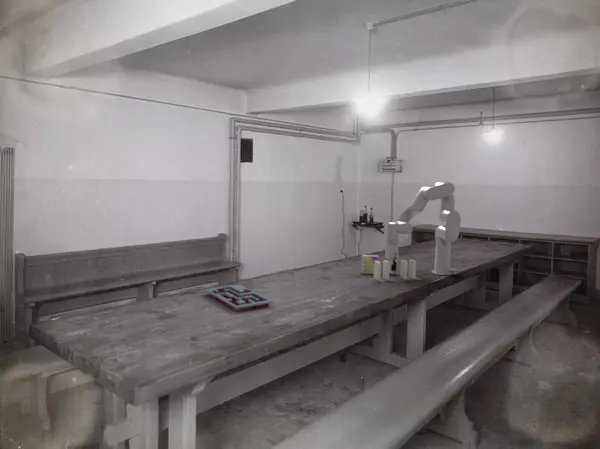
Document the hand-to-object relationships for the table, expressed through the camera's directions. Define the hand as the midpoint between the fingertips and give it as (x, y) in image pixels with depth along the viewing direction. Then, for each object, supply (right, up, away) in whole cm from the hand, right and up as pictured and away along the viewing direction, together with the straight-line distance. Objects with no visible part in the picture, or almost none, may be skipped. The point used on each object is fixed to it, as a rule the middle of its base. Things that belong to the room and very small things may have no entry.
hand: (391, 269), depth 296 cm
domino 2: (-7, -4, -16) cm, 18 cm away
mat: (-1, -5, -14) cm, 15 cm away
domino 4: (+5, -4, -12) cm, 14 cm away
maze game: (-90, -10, -66) cm, 112 cm away
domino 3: (0, -3, 0) cm, 3 cm away
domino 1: (-12, -4, -18) cm, 22 cm away
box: (-14, -3, 0) cm, 14 cm away
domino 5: (+10, -4, -11) cm, 16 cm away
